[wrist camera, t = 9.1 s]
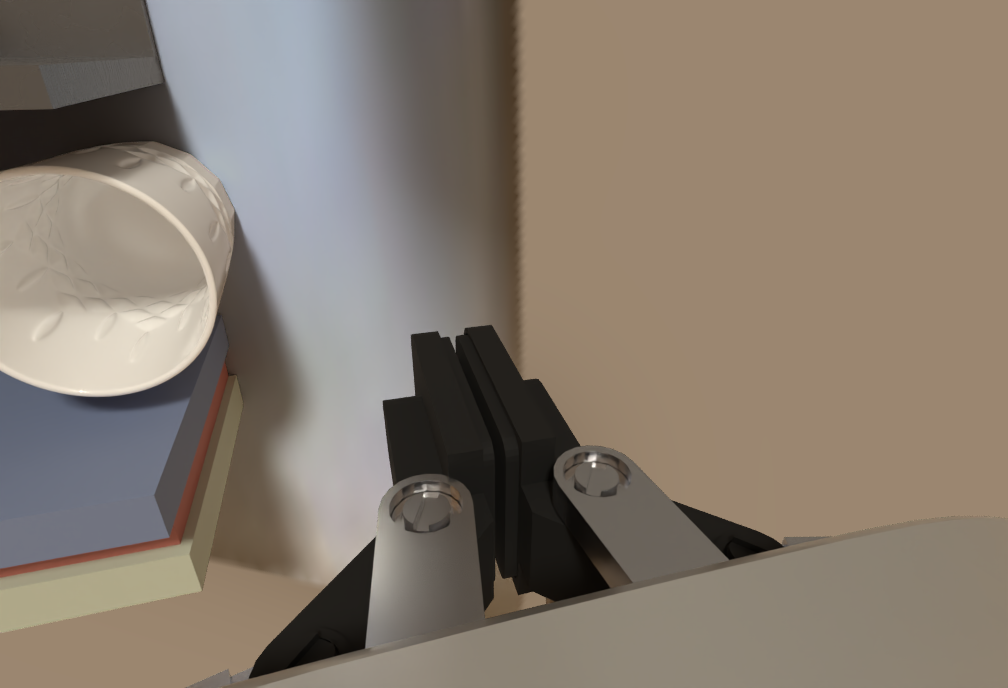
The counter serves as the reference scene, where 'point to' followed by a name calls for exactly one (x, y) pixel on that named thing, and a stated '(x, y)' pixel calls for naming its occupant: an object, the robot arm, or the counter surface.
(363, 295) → the counter surface
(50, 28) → the bookend
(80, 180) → the white cup
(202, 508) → the book row
